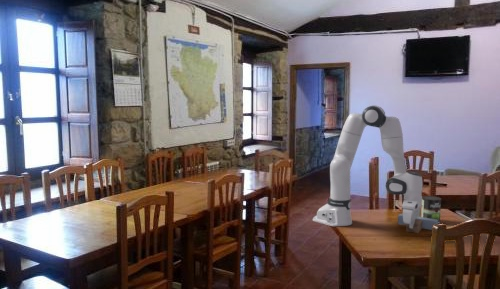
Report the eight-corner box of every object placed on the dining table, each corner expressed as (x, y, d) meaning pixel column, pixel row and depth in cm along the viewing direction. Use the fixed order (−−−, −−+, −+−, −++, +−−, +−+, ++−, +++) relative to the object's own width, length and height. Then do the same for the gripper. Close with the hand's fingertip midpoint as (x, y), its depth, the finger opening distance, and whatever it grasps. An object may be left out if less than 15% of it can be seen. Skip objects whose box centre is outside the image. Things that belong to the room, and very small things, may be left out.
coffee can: (444, 223, 227) (445, 199, 226) (427, 224, 225) (429, 200, 224) (432, 218, 237) (433, 195, 236) (416, 219, 235) (418, 196, 234)
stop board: (397, 223, 227) (398, 215, 226) (399, 222, 230) (400, 213, 229) (435, 230, 215) (436, 221, 214) (437, 228, 218) (437, 219, 218)
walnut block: (406, 231, 214) (406, 222, 214) (410, 226, 222) (411, 218, 222) (417, 233, 211) (418, 225, 210) (422, 228, 219) (422, 220, 218)
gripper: (411, 197, 220) (410, 221, 222) (401, 205, 204) (399, 231, 205) (423, 199, 216) (422, 224, 218) (413, 207, 200) (412, 234, 201)
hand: (411, 227), depth 211 cm, fingers closed
